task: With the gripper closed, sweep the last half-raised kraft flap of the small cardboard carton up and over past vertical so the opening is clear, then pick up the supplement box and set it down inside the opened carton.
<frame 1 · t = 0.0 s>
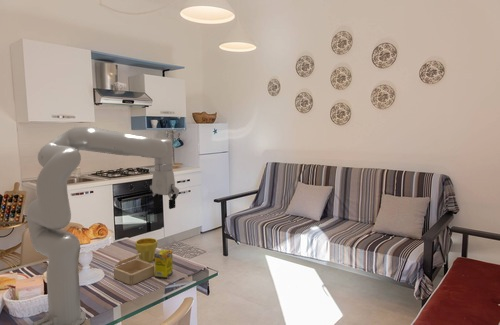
hand: (164, 206, 152), 31 cm above the table, fingers open, 9 cm apart
plant pot: (146, 260, 172), on the table
carton: (134, 276, 154), on the table
supplement box: (164, 276, 155), on the table
flap: (128, 259, 155), point 7 cm above the table, hinge at 40.0°
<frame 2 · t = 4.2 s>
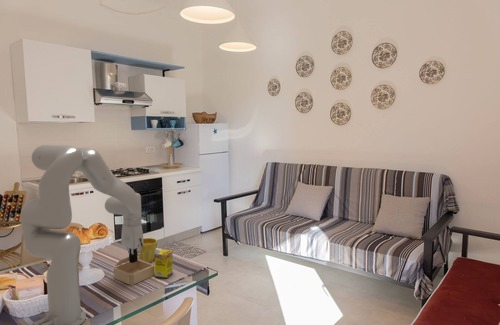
hand: (133, 261, 153), 7 cm above the table, fingers closed
flap: (127, 259, 155), point 7 cm above the table, hinge at 42.1°, touching gripper
everything else where it was.
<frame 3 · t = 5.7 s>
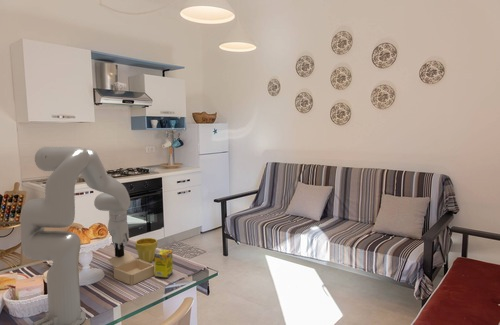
hand: (119, 255, 160), 7 cm above the table, fingers closed
flap: (121, 259, 158), point 6 cm above the table, hinge at 154.6°, touching gripper
everything else where it was.
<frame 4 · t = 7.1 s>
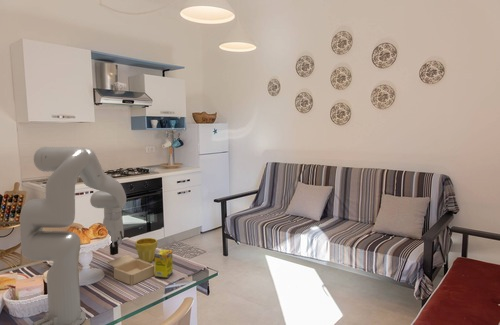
hand: (114, 254, 160), 7 cm above the table, fingers closed
flap: (121, 260, 158), point 5 cm above the table, hinge at 168.8°
everything else where it was.
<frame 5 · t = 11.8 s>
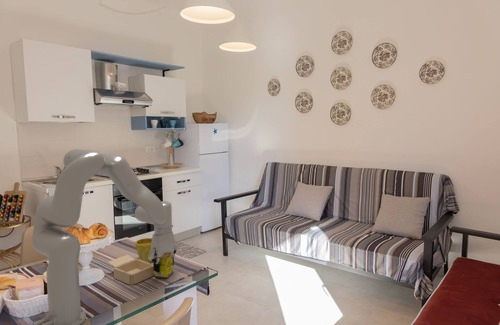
hand: (163, 268, 155), 3 cm above the table, fingers closed on supplement box, 7 cm apart
supplement box: (164, 276, 155), on the table, touching gripper
flap: (121, 260, 158), point 5 cm above the table, hinge at 169.4°
everything else where it was.
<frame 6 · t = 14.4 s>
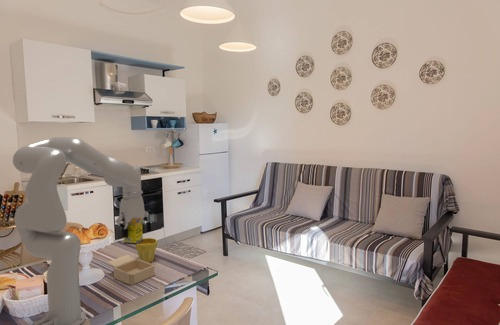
hand: (133, 234, 152), 19 cm above the table, fingers closed on supplement box, 7 cm apart
supplement box: (133, 242, 152), point 15 cm above the table, touching gripper
everything else where it was.
when the fingers open (5 cm above the table, at t = 17.4 s): supplement box drops 1 cm, resting on carton.
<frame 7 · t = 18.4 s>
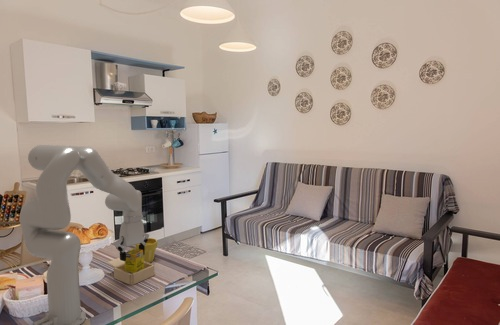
hand: (132, 257, 152), 9 cm above the table, fingers open, 9 cm apart
supplement box: (135, 275, 154), resting on carton
everything else where it was.
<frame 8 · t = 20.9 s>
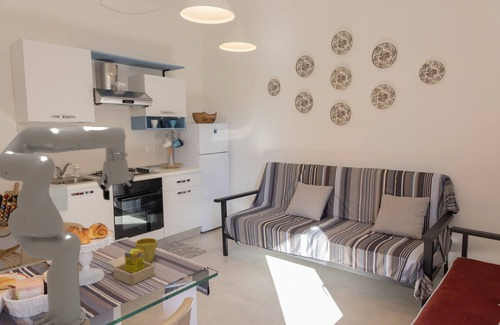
hand: (117, 197, 146), 36 cm above the table, fingers open, 9 cm apart
nothing on the table moved.
at the end: flap at +169° (first picture: +40°); supplement box inside the target area on the carton (0.2 cm from its centre), point 0.3 cm above the carton's base; supplement box tilted 0° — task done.
